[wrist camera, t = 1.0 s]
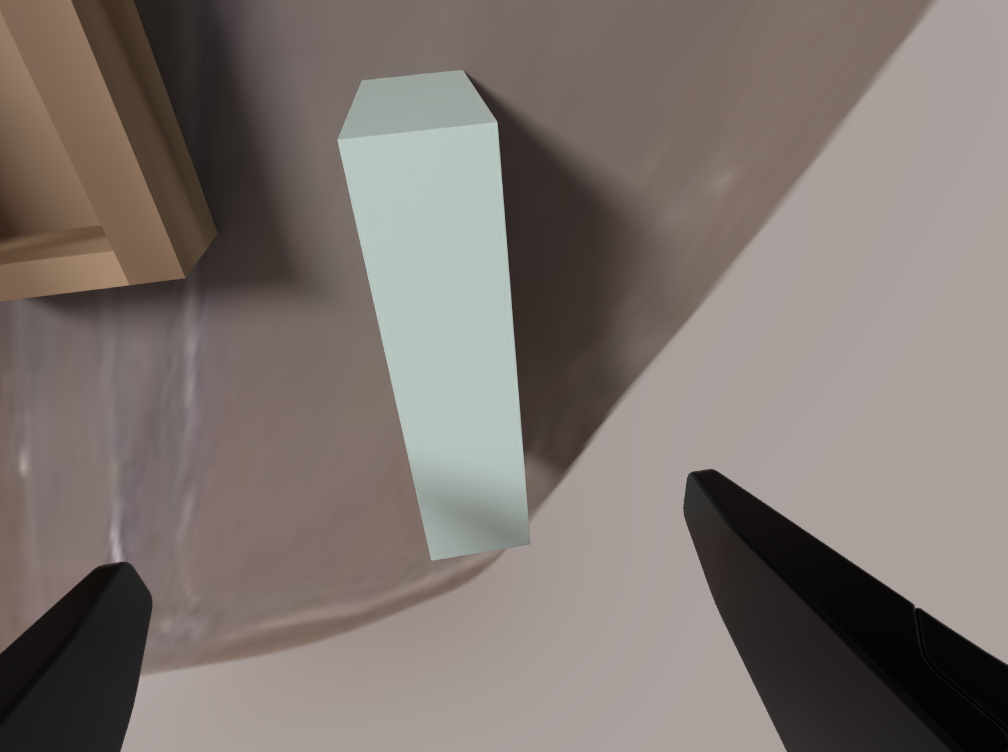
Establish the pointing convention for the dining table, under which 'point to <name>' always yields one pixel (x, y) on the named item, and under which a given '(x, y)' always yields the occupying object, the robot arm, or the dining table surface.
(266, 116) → the dining table surface
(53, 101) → the wooden tray
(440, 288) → the pale green rectangular block
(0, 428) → the dining table surface
